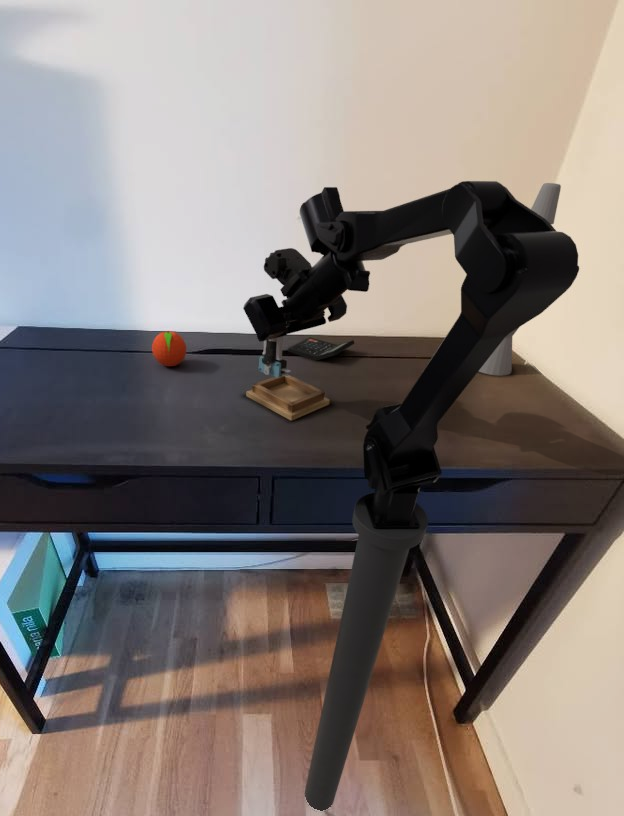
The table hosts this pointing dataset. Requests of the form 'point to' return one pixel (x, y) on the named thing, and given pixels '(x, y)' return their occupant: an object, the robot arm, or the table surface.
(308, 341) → the calculator
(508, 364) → the lava lamp
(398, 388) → the table surface
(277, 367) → the push button
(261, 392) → the base pad
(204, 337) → the table surface
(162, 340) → the clementine
